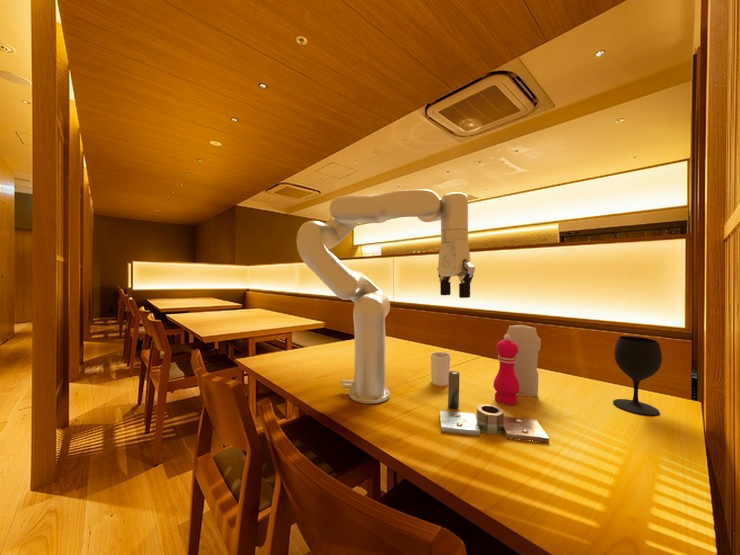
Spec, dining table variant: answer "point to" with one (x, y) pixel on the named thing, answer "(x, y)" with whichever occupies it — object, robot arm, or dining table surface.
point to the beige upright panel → (526, 358)
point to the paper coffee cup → (440, 368)
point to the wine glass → (637, 369)
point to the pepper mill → (506, 373)
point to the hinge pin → (453, 390)
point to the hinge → (491, 424)
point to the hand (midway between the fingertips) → (454, 296)
